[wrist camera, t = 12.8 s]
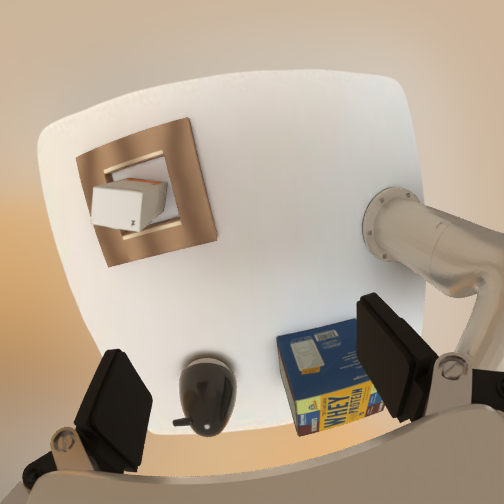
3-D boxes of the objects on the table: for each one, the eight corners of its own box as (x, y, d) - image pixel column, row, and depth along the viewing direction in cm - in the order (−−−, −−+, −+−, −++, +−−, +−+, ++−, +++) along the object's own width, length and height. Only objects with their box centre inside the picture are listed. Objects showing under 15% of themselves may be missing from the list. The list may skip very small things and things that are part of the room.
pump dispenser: (183, 344, 45) (173, 410, 31) (241, 354, 47) (248, 420, 33) (178, 381, 48) (170, 443, 34) (229, 389, 50) (233, 451, 36)
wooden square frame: (189, 119, 33) (187, 117, 31) (217, 235, 39) (216, 240, 37) (83, 157, 33) (75, 157, 31) (113, 261, 39) (108, 267, 37)
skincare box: (168, 181, 36) (145, 192, 25) (164, 211, 37) (140, 234, 26) (128, 176, 35) (91, 186, 24) (125, 205, 36) (89, 225, 25)
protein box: (353, 357, 51) (384, 411, 36) (280, 375, 50) (296, 438, 36) (356, 316, 47) (396, 371, 33) (275, 335, 46) (294, 402, 32)
